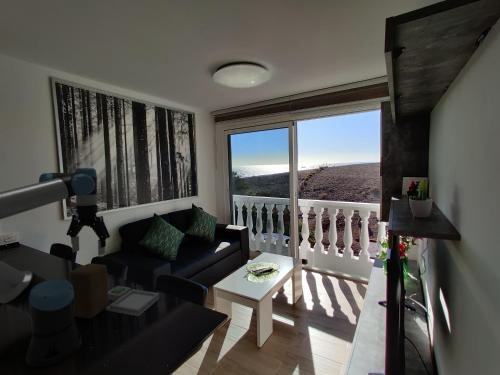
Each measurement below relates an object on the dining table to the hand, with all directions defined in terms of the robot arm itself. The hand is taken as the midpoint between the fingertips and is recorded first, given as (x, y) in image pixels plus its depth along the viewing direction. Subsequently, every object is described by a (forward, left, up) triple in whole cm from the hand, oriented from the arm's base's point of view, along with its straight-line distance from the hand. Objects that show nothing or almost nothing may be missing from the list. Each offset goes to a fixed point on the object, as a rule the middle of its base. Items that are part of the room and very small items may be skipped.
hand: (88, 253), depth 108 cm
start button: (+14, -2, -26) cm, 29 cm away
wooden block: (0, 0, -27) cm, 27 cm away
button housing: (+14, -2, -27) cm, 30 cm away
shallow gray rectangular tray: (+10, -14, -27) cm, 32 cm away
